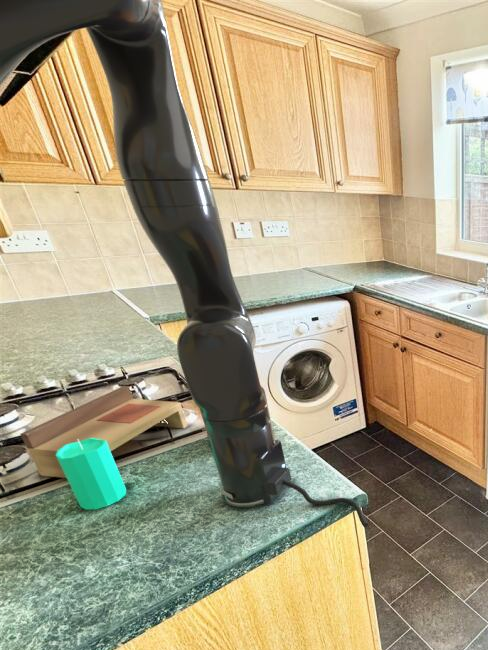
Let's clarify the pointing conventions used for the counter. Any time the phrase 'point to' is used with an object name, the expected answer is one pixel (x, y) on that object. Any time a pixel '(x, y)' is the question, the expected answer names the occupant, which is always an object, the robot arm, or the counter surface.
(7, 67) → the robot arm
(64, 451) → the candle
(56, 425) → the shelf
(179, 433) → the counter surface
